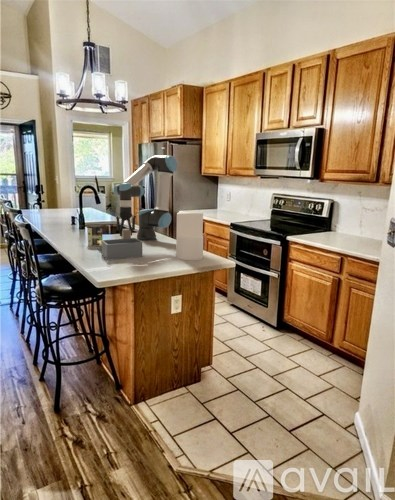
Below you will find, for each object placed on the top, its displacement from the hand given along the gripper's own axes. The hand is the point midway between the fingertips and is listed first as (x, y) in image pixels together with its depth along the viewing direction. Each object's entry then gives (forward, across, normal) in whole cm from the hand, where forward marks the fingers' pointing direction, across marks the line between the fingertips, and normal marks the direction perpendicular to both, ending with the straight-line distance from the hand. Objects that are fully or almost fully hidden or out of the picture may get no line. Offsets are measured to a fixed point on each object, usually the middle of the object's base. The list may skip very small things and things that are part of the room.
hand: (126, 240), depth 241 cm
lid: (+3, +7, 0) cm, 7 cm away
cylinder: (+6, -32, +34) cm, 47 cm away
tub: (+6, +8, +19) cm, 22 cm away
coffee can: (+6, +16, -20) cm, 27 cm away
